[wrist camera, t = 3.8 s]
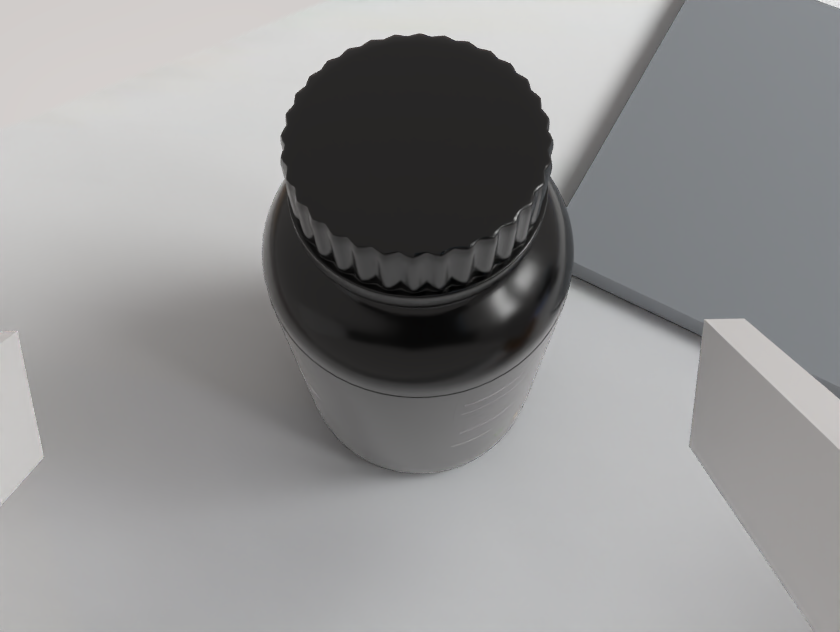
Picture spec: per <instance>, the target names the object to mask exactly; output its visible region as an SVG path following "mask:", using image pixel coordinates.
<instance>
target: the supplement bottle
mask: <svg viewBox="0 0 840 632" xmlns="http://www.w3.org/2000/svg"><path fill="white" fill-rule="evenodd" d="M548 131H549V118H548V116H547V115H546V113H545V112H544V111H543V110H542V109H541V98H540V97H539V96H538V95H537V94H536V93H534V92H533V91H532V90H531V88H530V84H529V82H528V79H526V78H525V77H523V76H521V75H519V74H518V73H516V71H515V69H514V67H513V66H512V65H511V64H510V63H508V62H506V61H503V60H500V59H498V58H497V57H496V56H495V55H494V54H493V53H492V52H491V51H488V50H484V49H479V48H477V47H475V46H474V45H473V44H471V43H470V42H467V41H455V40H452V39H451V38H449V37H446V36H434V37H431V36H427V35H424V34H420V33H419V34H415V35H411V36H401V35H393V36H391V37H388V38H386V39H384V40H370V41H368V42H367V43H365V44H364V45H362V46H360V47H355V48H350V49H347V50H346V51H345V52H344V53H343V54H342V55H341V56H340V57H337V58H335V59H331V60H329V61H327V62H326V64H325V65H324V66H323V68H322V69H321V70H320V71H318V72H317V73H314V74H313V75H311V76H310V77H309V79H308V81H307V84H306V86H305V87H304V88H302V89H301V90H300V91H299V92H297V93H296V95H295V100H294V105H293V106H292V108H291V109H289V111H288V112H287V113H286V127H285V128H284V130H283V132H282V134H281V145H282V149H283V151H282V155H281V167H282V171H283V174H284V178H285V179H284V181H283V182H282V184H281V186H280V188H279V190H278V192H277V193H276V195H275V198H274V200H273V202H272V205H271V207H270V210H269V213H268V216H267V220H266V223H265V229H264V234H263V245H262V262H263V271H264V277H265V282H266V285H267V289H268V293H269V296H270V300H271V303H272V305H273V308H274V310H275V313H276V315H277V317H278V320H279V322H280V324H281V327H282V329H283V331H284V334H285V336H286V338H287V341H288V343H289V345H290V347H291V350H292V352H293V354H294V357H295V359H296V361H297V363H298V366H299V368H300V370H301V373H302V375H303V377H304V380H305V382H306V384H307V386H308V389H309V391H310V393H311V396H312V398H313V400H314V402H315V404H316V406H317V408H318V410H319V412H320V414H321V416H322V418H323V420H324V421H325V423H326V424H327V426H328V427H329V429H330V430H331V431H332V432H333V433H334V435H335V436H336V437H337V438H338V439H339V440H340V441H341V442H342V443H343V444H344V445H345V446H346V447H347V448H349V449H350V450H351V451H352V452H354V453H355V454H357V455H358V456H360V457H361V458H363V459H365V460H367V461H369V462H371V463H373V464H375V465H378V466H380V467H383V468H386V469H390V470H393V471H398V472H404V473H416V474H420V473H434V472H441V471H446V470H450V469H453V468H456V467H459V466H462V465H464V464H466V463H469V462H471V461H473V460H474V459H476V458H478V457H480V456H481V455H483V454H484V453H486V452H487V451H488V450H490V449H491V448H492V447H493V446H494V445H495V444H497V443H498V442H499V441H500V440H501V438H502V437H503V436H504V435H505V434H506V433H507V432H508V430H509V429H510V428H511V426H512V425H513V423H514V422H515V420H516V418H517V417H518V415H519V413H520V411H521V409H522V407H523V405H524V402H525V400H526V398H527V396H528V393H529V391H530V388H531V386H532V383H533V381H534V378H535V376H536V373H537V371H538V369H539V366H540V364H541V361H542V359H543V356H544V354H545V351H546V349H547V346H548V344H549V341H550V339H551V336H552V334H553V331H554V329H555V326H556V324H557V321H558V319H559V316H560V314H561V311H562V309H563V306H564V303H565V300H566V297H567V293H568V290H569V286H570V281H571V277H572V272H573V263H574V241H573V233H572V227H571V222H570V218H569V214H568V212H567V209H566V206H565V203H564V201H563V199H562V197H561V194H560V192H559V190H558V188H557V187H556V185H555V183H554V182H553V180H552V179H551V177H550V174H551V170H552V162H551V154H552V150H553V139H552V137H551V134H550V133H549V132H548Z"/></svg>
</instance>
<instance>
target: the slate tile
mask: <svg viewBox="0 0 840 632" xmlns="http://www.w3.org/2000/svg"><path fill="white" fill-rule="evenodd" d="M566 209H567V212H568V214H569V218H570V222H571V227H572V233H573V241H574V263H573V272H572V275H574V276H576V277H578V278H580V279H582V280H584V281H586V282H588V283H590V284H593V285H595V286H597V287H599V288H601V289H603V290H605V291H607V292H609V293H612V294H614V295H616V296H618V297H620V298H622V299H624V300H626V301H628V302H631V303H633V304H635V305H637V306H639V307H641V308H643V309H645V310H647V311H650V312H652V313H654V314H656V315H658V316H660V317H662V318H664V319H666V320H669V321H671V322H673V323H675V324H677V325H679V326H681V327H683V328H685V329H687V330H690V331H692V332H694V333H696V334H698V335H700V336H702V333H703V325H704V319H745V320H747V321H748V322H749V323H750V324H751V325H752V326H754V327H755V328H756V329H757V330H758V331H760V332H761V333H762V334H763V335H764V336H765V337H767V338H768V339H769V340H770V341H771V342H773V343H774V344H775V345H776V346H777V347H778V348H780V349H781V350H782V351H783V352H784V353H786V354H787V355H788V356H789V357H790V358H791V359H793V360H794V361H795V362H796V363H797V364H799V365H800V366H801V367H802V368H803V369H804V370H806V371H807V372H808V373H809V374H810V375H812V376H813V377H814V378H815V379H816V380H817V381H819V382H820V383H821V384H822V385H823V386H825V387H826V388H827V389H828V390H829V391H830V392H832V393H833V394H834V395H835V396H836V397H838V398H839V399H840V9H839V8H836V7H833V6H831V5H828V4H825V3H822V2H820V1H817V0H685V2H684V4H683V5H682V7H681V9H680V11H679V12H678V14H677V16H676V18H675V19H674V21H673V23H672V25H671V26H670V28H669V30H668V32H667V33H666V35H665V37H664V39H663V40H662V42H661V44H660V46H659V47H658V49H657V51H656V53H655V54H654V56H653V58H652V60H651V61H650V63H649V65H648V66H647V68H646V70H645V72H644V73H643V75H642V77H641V79H640V80H639V82H638V84H637V86H636V87H635V89H634V91H633V93H632V94H631V96H630V98H629V100H628V101H627V103H626V105H625V107H624V108H623V110H622V112H621V114H620V115H619V117H618V119H617V121H616V122H615V124H614V126H613V128H612V129H611V131H610V133H609V134H608V136H607V138H606V140H605V141H604V143H603V145H602V147H601V148H600V150H599V152H598V154H597V155H596V157H595V159H594V161H593V162H592V164H591V166H590V168H589V169H588V171H587V173H586V175H585V176H584V178H583V180H582V182H581V183H580V185H579V187H578V189H577V190H576V192H575V194H574V196H573V197H572V199H571V201H570V203H569V204H568V206H567V208H566Z"/></svg>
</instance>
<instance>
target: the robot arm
mask: <svg viewBox="0 0 840 632" xmlns="http://www.w3.org/2000/svg"><path fill="white" fill-rule="evenodd" d="M689 447H690V448H691V450H692V451H693V453H694V454H695V456H696V457H697V459H698V460H699V462H700V463H701V465H702V466H703V468H704V469H705V471H706V472H707V474H708V475H709V477H710V478H711V480H712V481H713V483H714V484H715V485H716V487H717V488H718V490H719V491H720V493H721V494H722V496H723V497H724V499H725V500H726V502H727V503H728V505H729V506H730V508H731V509H732V511H733V512H734V514H735V515H736V517H737V518H738V520H739V521H740V523H741V524H742V525H743V527H744V528H745V530H746V531H747V533H748V534H749V536H750V537H751V539H752V540H753V542H754V543H755V545H756V546H757V548H758V549H759V551H760V552H761V554H762V555H763V557H764V558H765V560H766V561H767V563H768V564H769V565H770V567H771V568H772V570H773V571H774V573H775V574H776V576H777V577H778V579H779V580H780V582H781V583H782V585H783V586H784V588H785V589H786V591H787V592H788V594H789V595H790V597H791V598H792V600H793V601H794V603H795V604H796V605H797V607H798V608H799V610H800V611H801V613H802V614H803V616H804V617H805V619H806V620H807V622H808V623H809V625H810V626H811V628H812V629H813V631H814V632H840V399H839V398H838V397H836V396H835V395H834V394H833V393H832V392H830V391H829V390H828V389H827V388H826V387H825V386H823V385H822V384H821V383H820V382H819V381H817V380H816V379H815V378H814V377H813V376H812V375H810V374H809V373H808V372H807V371H806V370H804V369H803V368H802V367H801V366H800V365H799V364H797V363H796V362H795V361H794V360H793V359H791V358H790V357H789V356H788V355H787V354H786V353H784V352H783V351H782V350H781V349H780V348H778V347H777V346H776V345H775V344H774V343H773V342H771V341H770V340H769V339H768V338H767V337H765V336H764V335H763V334H762V333H761V332H760V331H758V330H757V329H756V328H755V327H754V326H752V325H751V324H750V323H749V322H748V321H747V320H745V319H704V325H703V333H702V342H701V350H700V358H699V367H698V375H697V384H696V392H695V401H694V409H693V418H692V426H691V435H690V443H689ZM43 458H44V455H43V450H42V445H41V440H40V435H39V431H38V426H37V421H36V416H35V411H34V407H33V402H32V397H31V392H30V388H29V383H28V378H27V373H26V368H25V364H24V359H23V354H22V349H21V344H20V340H19V335H18V331H0V506H1V505H2V504H3V503H4V502H5V501H6V500H7V499H8V497H9V496H10V495H11V494H12V493H13V492H14V491H15V490H16V488H17V487H18V486H19V485H20V484H21V483H22V482H23V481H24V479H25V478H26V477H27V476H28V475H29V474H30V473H31V472H32V470H33V469H34V468H35V467H36V466H37V465H38V464H39V463H40V461H41V460H42V459H43Z"/></svg>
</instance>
